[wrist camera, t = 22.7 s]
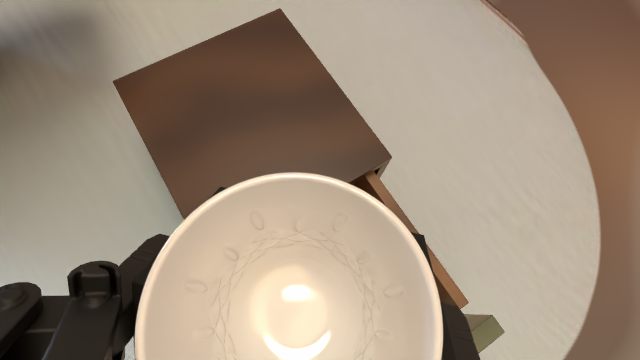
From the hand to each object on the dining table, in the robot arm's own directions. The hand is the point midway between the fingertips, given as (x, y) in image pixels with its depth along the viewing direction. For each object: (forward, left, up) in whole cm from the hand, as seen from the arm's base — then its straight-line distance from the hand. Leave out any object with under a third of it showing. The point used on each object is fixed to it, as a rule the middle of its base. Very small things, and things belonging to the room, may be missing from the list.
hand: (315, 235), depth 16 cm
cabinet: (+1, +11, -15) cm, 18 cm away
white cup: (-2, -2, -4) cm, 5 cm away
